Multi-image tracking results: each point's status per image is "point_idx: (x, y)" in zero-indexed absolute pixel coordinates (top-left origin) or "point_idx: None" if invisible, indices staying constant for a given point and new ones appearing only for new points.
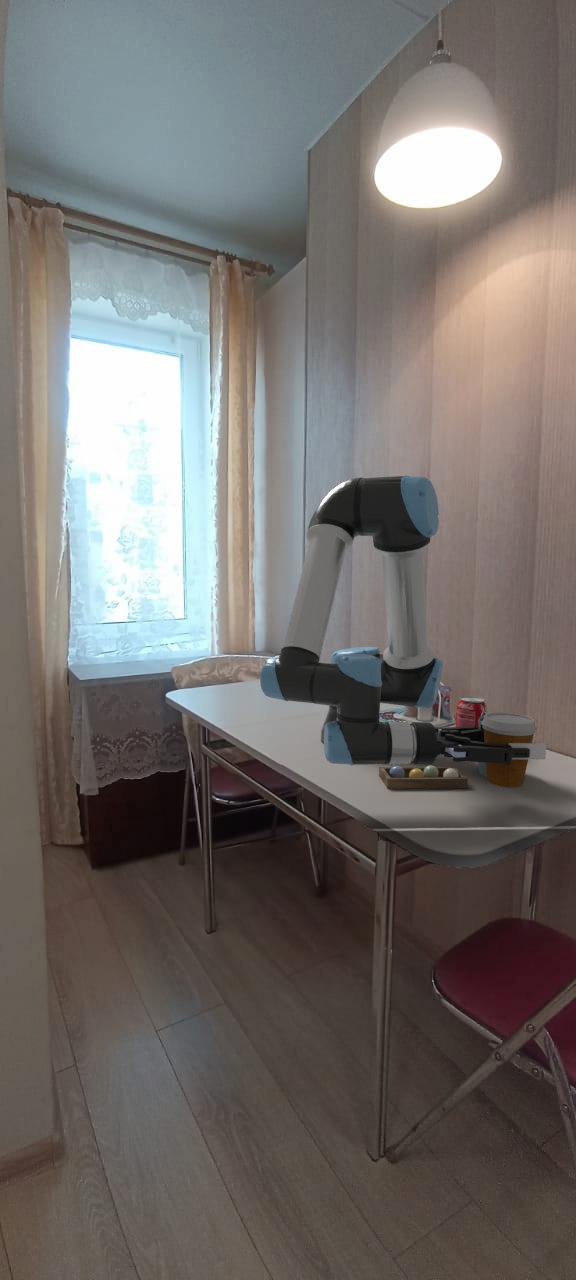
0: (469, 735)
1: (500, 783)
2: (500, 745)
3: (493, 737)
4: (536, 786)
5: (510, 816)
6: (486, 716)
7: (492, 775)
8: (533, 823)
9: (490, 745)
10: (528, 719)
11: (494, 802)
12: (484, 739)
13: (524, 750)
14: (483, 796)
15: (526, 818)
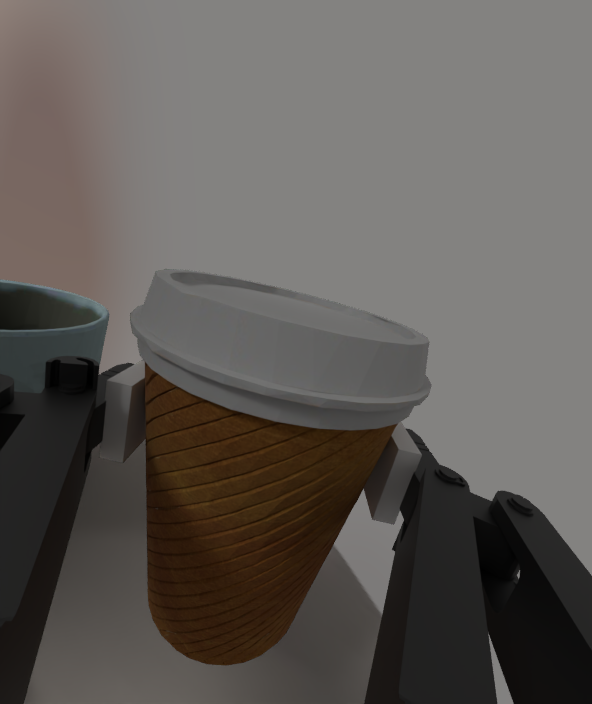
0: (57, 519)
1: (286, 627)
2: (457, 504)
3: (345, 458)
4: (133, 459)
5: (307, 689)
6: (245, 308)
7: (258, 632)
8: (360, 634)
9: (478, 563)
10: (288, 298)
11: (167, 667)
12: (205, 479)
13: (425, 447)
14: (86, 680)
15: (323, 632)
